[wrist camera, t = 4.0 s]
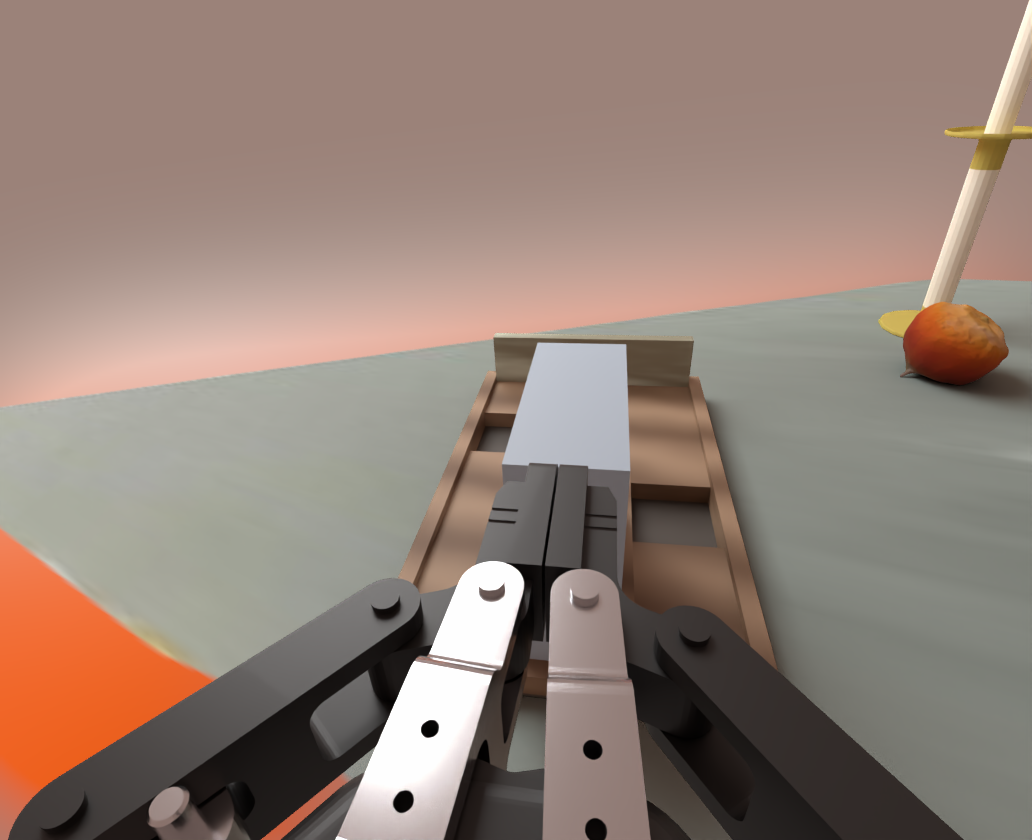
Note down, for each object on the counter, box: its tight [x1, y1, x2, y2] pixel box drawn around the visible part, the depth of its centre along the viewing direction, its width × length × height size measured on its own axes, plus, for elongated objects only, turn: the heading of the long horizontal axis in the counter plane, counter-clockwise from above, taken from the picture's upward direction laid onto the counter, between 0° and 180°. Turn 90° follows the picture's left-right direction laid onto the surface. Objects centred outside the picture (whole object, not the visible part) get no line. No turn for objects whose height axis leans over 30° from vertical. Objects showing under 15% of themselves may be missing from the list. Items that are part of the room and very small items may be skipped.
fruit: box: [900, 302, 1009, 386], centre depth 54 cm, size 8×8×8 cm
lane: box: [398, 333, 778, 698], centre depth 40 cm, size 32×20×6 cm, turn 171°
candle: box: [878, 0, 1032, 338], centre depth 55 cm, size 10×10×38 cm
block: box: [502, 343, 630, 661], centre depth 30 cm, size 12×5×12 cm, turn 171°
